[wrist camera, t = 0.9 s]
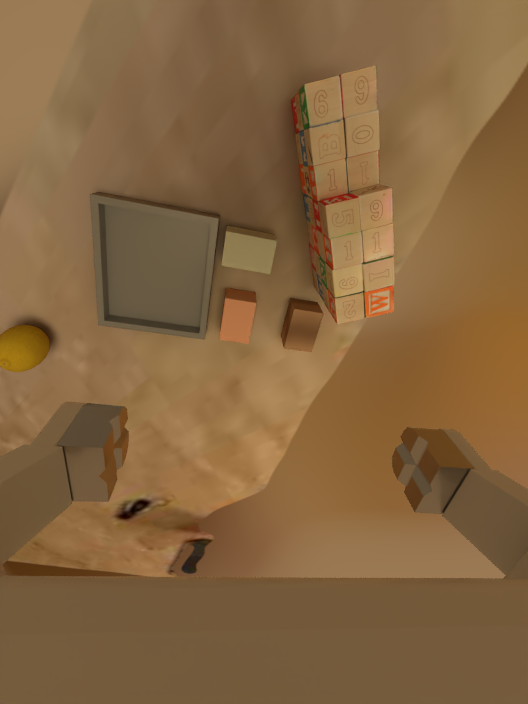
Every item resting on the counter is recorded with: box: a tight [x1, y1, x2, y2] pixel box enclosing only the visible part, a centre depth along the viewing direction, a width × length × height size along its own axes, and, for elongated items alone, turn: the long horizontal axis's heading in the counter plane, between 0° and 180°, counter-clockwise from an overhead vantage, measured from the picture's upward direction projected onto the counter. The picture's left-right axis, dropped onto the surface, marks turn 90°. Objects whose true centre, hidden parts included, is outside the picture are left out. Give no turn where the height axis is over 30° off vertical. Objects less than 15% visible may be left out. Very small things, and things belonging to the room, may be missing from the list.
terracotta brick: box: [219, 288, 257, 344], centre depth 45 cm, size 6×4×4 cm, turn 169°
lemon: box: [0, 325, 50, 372], centre depth 43 cm, size 6×6×8 cm
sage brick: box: [221, 225, 277, 274], centre depth 41 cm, size 4×6×4 cm, turn 79°
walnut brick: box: [281, 298, 323, 352], centre depth 46 cm, size 6×4×4 cm, turn 169°
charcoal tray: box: [90, 192, 220, 339], centre depth 42 cm, size 16×14×2 cm
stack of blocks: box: [291, 65, 395, 324], centre depth 35 cm, size 21×6×12 cm, turn 12°
